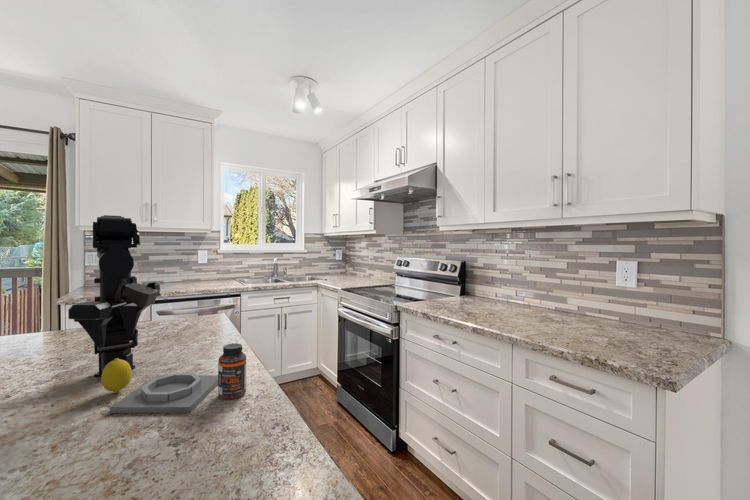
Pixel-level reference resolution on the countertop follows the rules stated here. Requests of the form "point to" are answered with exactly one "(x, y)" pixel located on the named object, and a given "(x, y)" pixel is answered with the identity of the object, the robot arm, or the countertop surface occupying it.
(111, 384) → the lemon
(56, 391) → the countertop surface
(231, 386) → the supplement bottle
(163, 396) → the ring plate
